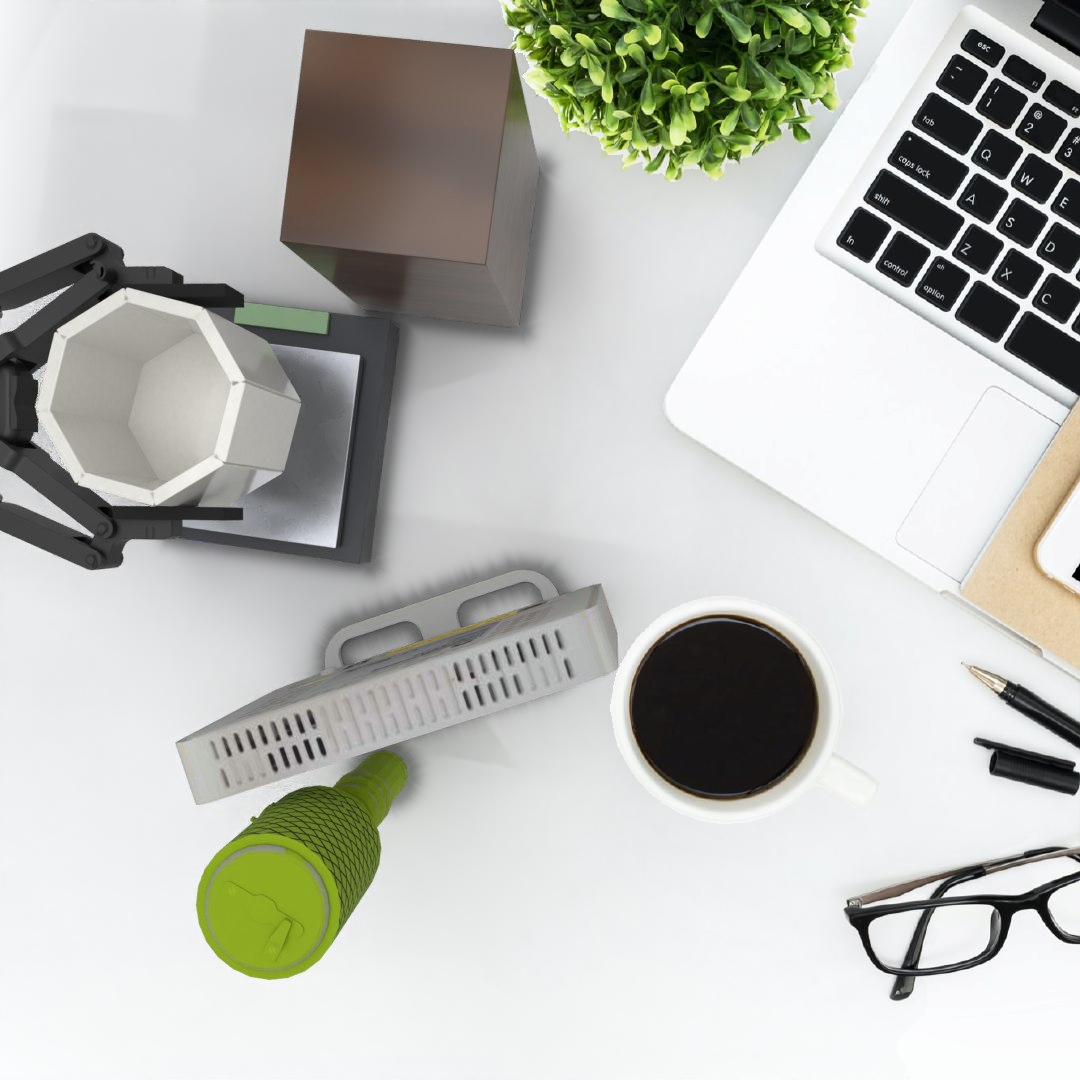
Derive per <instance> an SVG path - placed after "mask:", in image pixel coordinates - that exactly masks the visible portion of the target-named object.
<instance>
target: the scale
mask: <svg viewBox="0 0 1080 1080" xmlns="http://www.w3.org/2000/svg"><path fill="white" fill-rule="evenodd" d="M205 309H207V310H209V311H211V312H213V313H215V314H217V315H219V316H221V317H223V318H224V319H226V320H228V321H230V322H232V323H234V324H236V325H238V326H240V327H242V328H244V329H246V330H248V331H249V332H251V333H253V334H255V335H257V336H259V337H261V338H263V339H264V340H266V341H267V342H268V344H276V345H284V346H292V347H300V348H308V349H316V350H324V351H332V352H340V353H348V354H356V355H361V356H362V357H364V360H363V368H362V376H361V384H360V392H359V400H358V407H357V415H356V423H355V431H354V439H353V447H352V455H351V463H350V470H349V478H348V486H347V494H346V502H345V510H344V518H343V525H342V533H341V541H340V548H329V547H322V546H315V545H308V544H301V543H294V542H287V541H280V540H272V539H265V538H258V537H251V536H244V535H237V534H230V533H223V532H216V531H209V530H202V529H195V528H188V527H183V536H181V537H179V538H178V539H181V540H188V541H196V542H201V543H202V542H203V543H210V544H217V545H222V546H223V545H224V546H229V547H238V548H243V549H244V548H245V549H250V550H251V549H252V550H258V551H265V552H272V553H280V554H287V555H293V556H301V557H307V558H315V559H321V560H329V561H336V562H341V563H342V562H343V563H350V564H357V565H361V564H365V563H370V562H371V556H372V549H373V543H374V542H373V541H374V533H375V526H376V518H377V517H376V516H377V509H378V501H379V495H380V488H381V479H382V471H383V465H384V463H383V462H384V455H385V448H386V439H387V432H388V423H389V416H390V409H391V401H392V393H393V385H394V377H395V369H396V363H397V362H396V361H397V354H398V347H399V346H398V345H399V339H400V338H399V337H400V329H401V327H399V326H398V324H396V323H395V322H394V321H393V320H391V319H389V318H388V319H387V318H380V317H374V316H373V317H372V316H365V315H364V316H363V315H355V314H348V313H340V312H331V311H323V310H315V309H306V308H298V307H289V306H283V305H275V304H265V303H257V302H250V301H244V308H205Z"/></svg>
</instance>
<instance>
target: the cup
mask: <svg viewBox="0 0 1080 1080" xmlns="http://www.w3.org/2000/svg"><path fill="white" fill-rule="evenodd" d="M57 331H58V333H57V332H55V333H54V337H53V341H52V345H51V349H50V353H49V357H48V361H47V363H46V364H45V365H46V366H45V370H44V373H43V378H42V383H41V386H40V390H39V393H38V397H37V401H36V406H35V409H36V413H37V416H38V421H39V422H40V423H41V425H42V427H43V429H44V431H45V432H46V434H47V435H48V437H49V439H50V441H51V443H52V445H53V446H54V448H55V450H56V451H57V453H58V456H59V458H60V459H61V461H62V462H63V464H64V466H65V468H66V469H67V471H68V472H69V473H70V475H71V476H72V478H73V480H74V482H75V483H78V485H79V486H82V487H86V488H90V489H91V490H92V491H98V492H101V493H104V494H108V495H111V496H116V497H119V498H122V499H126V500H130V501H134V502H137V503H140V504H144V505H146V506H176V507H227V506H228V505H230V504H232V503H233V502H235V501H237V500H238V499H240V498H242V497H243V496H245V495H247V494H248V493H250V492H252V491H253V490H255V489H257V488H258V487H260V486H262V485H263V484H265V483H267V482H268V481H270V480H272V479H273V478H275V477H277V476H278V475H280V474H282V471H284V469H285V465H286V461H287V457H288V453H289V449H290V445H291V442H292V438H293V434H294V430H295V426H296V422H297V418H298V414H299V410H300V406H301V403H299V402H300V401H301V400H300V398H299V396H298V394H297V393H296V391H295V389H294V387H293V386H292V384H291V382H290V380H289V379H288V377H287V375H286V373H285V372H284V370H283V368H282V366H281V365H280V363H279V361H278V359H277V358H276V356H275V354H274V352H273V351H272V349H271V347H270V345H269V344H268V342H267V341H266V340H264V339H263V338H261V337H259V336H257V335H255V334H253V333H251V332H249V331H248V330H246V329H244V328H242V327H240V326H238V325H236V324H234V323H232V322H230V321H228V320H226V319H224V318H223V317H221V316H219V315H217V314H215V313H213V312H211V311H209V310H207V309H205V308H203V307H201V306H197V305H193V304H189V303H185V302H182V301H178V300H174V299H170V298H166V297H162V296H159V295H155V294H151V293H147V292H143V291H139V290H136V289H132V288H126V289H125V288H122V289H121V290H119V291H117V292H116V293H114V294H113V295H111V296H109V297H108V298H106V299H105V300H103V301H101V302H100V303H98V304H97V305H95V306H93V307H92V308H90V309H89V310H87V311H85V312H84V313H82V314H81V315H79V316H77V317H76V318H74V319H73V320H71V321H69V322H68V323H66V324H65V325H63V326H61V327H60V328H58V329H57Z"/></svg>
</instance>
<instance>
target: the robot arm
mask: <svg viewBox="0 0 1080 1080" xmlns="http://www.w3.org/2000/svg"><path fill="white" fill-rule="evenodd" d="M124 259H125V251H124V249H123V248H122V247H121V246H120V245H119V244H116V243H115V242H113V241H111V240H109V239H108V238H106V237H104V236H102V235H101V234H98V233H96V232H93V231H91V232H88V233H85V234H83V235H81V236H79V237H76V238H74V239H72V240H69V241H66V242H65V243H63V244H60V245H58V246H55V247H54V248H51V249H49V250H47V251H44V252H42V253H40V254H38V255H37V254H36V256H33V257H31V258H28V259H26V260H24V261H21V262H19V263H17V264H15V265H13V266H10V267H8V268H5V269H4V270H1V271H0V319H2V318H3V316H4V313H3V312H4V311H5V312H6V311H12V310H16V309H18V308H22V307H24V306H27V305H29V304H31V303H34V302H35V301H38V300H40V299H43V298H44V297H47V296H49V295H51V294H53V293H56V292H58V291H60V290H63V289H65V288H67V287H68V288H67V289H65V290H64V291H62V292H61V293H60V294H59V295H58V296H56V297H55V298H54V299H52V300H51V301H50V302H48V303H47V304H46V305H44V306H43V307H42V308H40V309H39V310H38V311H36V313H34V314H33V315H32V316H30V317H29V318H27V319H26V320H25V321H24V322H23V323H21V324H20V325H19V326H17V327H15V329H13V330H10V331H4V332H2V333H1V334H0V468H2V469H4V470H6V471H8V472H11V473H13V474H14V475H16V476H17V477H19V478H20V479H21V480H22V481H24V482H25V483H26V484H27V485H29V486H30V487H32V488H33V489H34V490H35V491H37V492H38V493H39V494H40V495H42V496H43V497H44V498H45V499H47V500H48V501H50V503H52V504H53V505H55V506H56V507H57V508H59V510H61V511H62V512H64V513H65V514H66V515H67V516H69V517H70V518H72V519H73V520H74V521H76V522H77V524H79V525H80V526H82V527H83V528H85V529H86V530H87V531H88V532H90V533H91V534H92V535H93V537H92V536H90V535H89V534H86V533H84V532H81V531H78V530H77V529H74V528H72V527H70V526H68V525H65V524H63V523H60V522H58V521H56V520H54V519H51V518H49V517H47V516H46V515H43V514H40V513H38V512H36V511H34V510H31V509H29V508H27V507H25V506H22V505H19V504H16V503H12V502H8V501H3V500H4V496H3V494H1V493H0V532H2V533H5V534H7V535H9V536H11V537H14V538H16V539H18V540H21V541H22V542H25V543H27V544H29V545H32V546H34V547H35V548H38V549H40V550H42V551H45V552H48V553H50V554H51V555H54V556H56V557H59V558H61V559H63V560H65V561H68V562H70V563H72V564H74V565H76V566H78V567H81V568H83V569H85V570H88V571H99V570H108V569H109V570H110V569H117V568H119V567H120V566H122V564H123V563H124V558H125V557H124V554H123V551H124V548H125V546H126V545H127V543H128V542H129V541H131V540H145V541H146V540H147V541H149V540H150V541H151V540H152V541H153V540H154V541H155V540H156V541H166V540H167V541H168V540H176V539H180V538H179V537H181V536H183V520H220V521H230V520H243V508H239V507H175V506H151V505H112V504H111V503H109V502H108V501H107V500H105V499H104V498H103V497H102V496H100V495H99V494H97V492H95V490H93V489H90V488H86V487H82V486H79V485H78V483H75V482H74V480H73V478H72V476H71V475H70V473H69V471H68V470H66V469H65V468H64V467H62V466H61V465H60V464H58V462H56V461H55V460H53V458H51V454H50V453H49V452H47V451H46V450H44V448H43V447H41V446H39V445H38V443H36V442H34V441H33V440H32V439H33V436H34V434H35V433H39V418H38V416H37V413H38V412H37V411H36V405H37V401H38V397H39V379H36V378H34V375H33V374H35V373H36V372H37V371H39V370H40V369H42V367H44V366H45V365H47V361H48V357H49V353H50V349H51V345H52V341H53V337H54V333H55V332H57V333H58V331H57V329H58V328H60V327H61V326H63V325H65V324H66V323H68V322H69V321H71V320H73V319H74V318H76V317H77V316H79V315H81V314H82V313H84V312H85V311H87V310H89V309H90V308H92V307H93V306H95V305H97V304H98V303H100V302H101V301H103V300H105V299H106V298H108V297H109V296H111V295H113V294H114V293H116V292H117V291H119V290H121V289H122V288H125V289H126V288H132V289H136V290H139V291H143V292H147V293H151V294H155V295H159V296H162V297H166V298H170V299H174V300H178V301H182V302H185V303H189V304H193V305H197V306H201V307H203V308H244V302H245V294H244V293H242V292H240V291H239V290H237V289H235V288H233V286H231V285H229V284H227V283H224V282H223V283H222V282H221V283H220V282H219V283H218V282H217V283H213V282H212V283H211V282H210V283H206V282H205V283H204V282H203V283H184V282H185V278H184V277H185V276H184V274H181V273H179V272H177V271H175V270H174V269H172V268H169V267H167V266H164V265H155V266H154V265H147V266H146V265H142V266H140V265H139V266H138V265H137V266H135V265H133V266H132V265H131V266H130V265H129V266H128V265H127V266H126V264H125V261H124Z"/></svg>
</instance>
